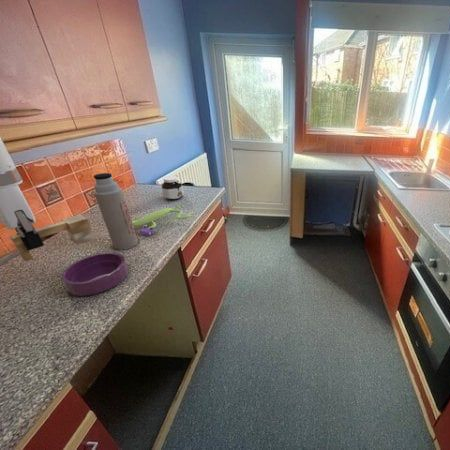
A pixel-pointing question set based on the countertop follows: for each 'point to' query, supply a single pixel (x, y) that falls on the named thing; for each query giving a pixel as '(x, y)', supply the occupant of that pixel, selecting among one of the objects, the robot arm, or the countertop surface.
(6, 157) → the robot arm
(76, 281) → the bowl
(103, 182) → the thermos bottle
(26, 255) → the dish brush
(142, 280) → the countertop surface
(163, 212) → the figurine
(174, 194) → the spread jar
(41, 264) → the countertop surface
